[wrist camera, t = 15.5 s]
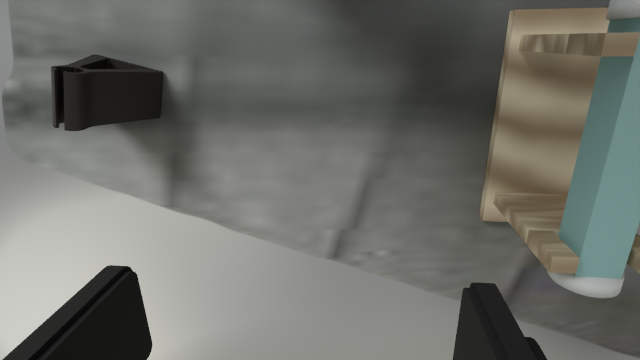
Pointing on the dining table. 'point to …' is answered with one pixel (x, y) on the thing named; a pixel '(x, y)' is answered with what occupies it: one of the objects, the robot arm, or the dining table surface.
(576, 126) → the stand
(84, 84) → the phone stand
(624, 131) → the teal long bar
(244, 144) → the dining table surface
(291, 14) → the dining table surface
